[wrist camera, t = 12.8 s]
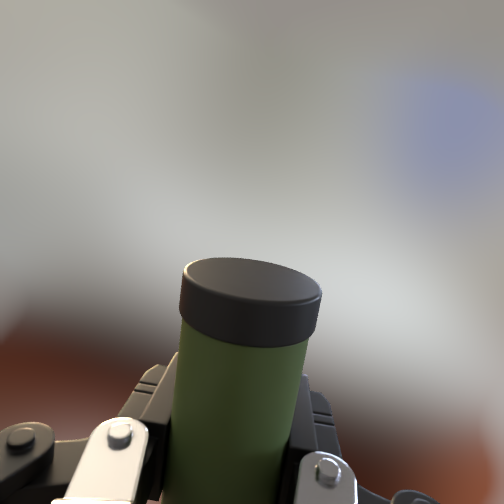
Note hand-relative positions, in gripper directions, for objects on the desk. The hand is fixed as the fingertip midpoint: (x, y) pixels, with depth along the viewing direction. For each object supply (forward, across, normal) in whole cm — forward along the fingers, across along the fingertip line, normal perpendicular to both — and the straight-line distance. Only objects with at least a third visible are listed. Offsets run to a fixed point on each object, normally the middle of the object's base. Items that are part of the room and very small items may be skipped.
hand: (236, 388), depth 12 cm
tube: (-3, 0, +6) cm, 7 cm away
